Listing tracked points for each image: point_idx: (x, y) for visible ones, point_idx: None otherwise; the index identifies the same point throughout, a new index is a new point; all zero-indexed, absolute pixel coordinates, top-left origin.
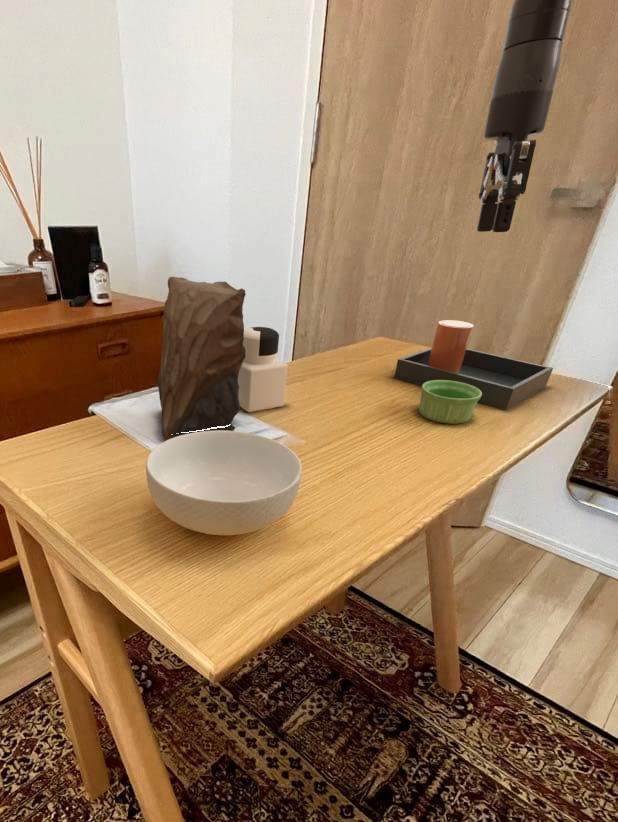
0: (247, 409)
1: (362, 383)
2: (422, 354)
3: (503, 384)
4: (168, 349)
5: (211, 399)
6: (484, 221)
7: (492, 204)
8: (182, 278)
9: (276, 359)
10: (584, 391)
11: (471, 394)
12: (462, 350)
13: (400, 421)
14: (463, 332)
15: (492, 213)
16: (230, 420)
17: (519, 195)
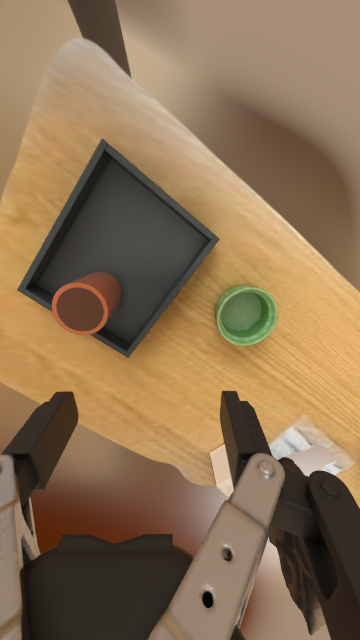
0: None
1: (160, 378)
2: None
3: (130, 219)
4: None
5: None
6: (65, 430)
7: (35, 465)
8: (315, 628)
9: None
10: (111, 84)
11: (241, 292)
12: (108, 286)
13: (258, 349)
14: (107, 299)
15: (49, 433)
16: (298, 467)
17: (282, 468)
